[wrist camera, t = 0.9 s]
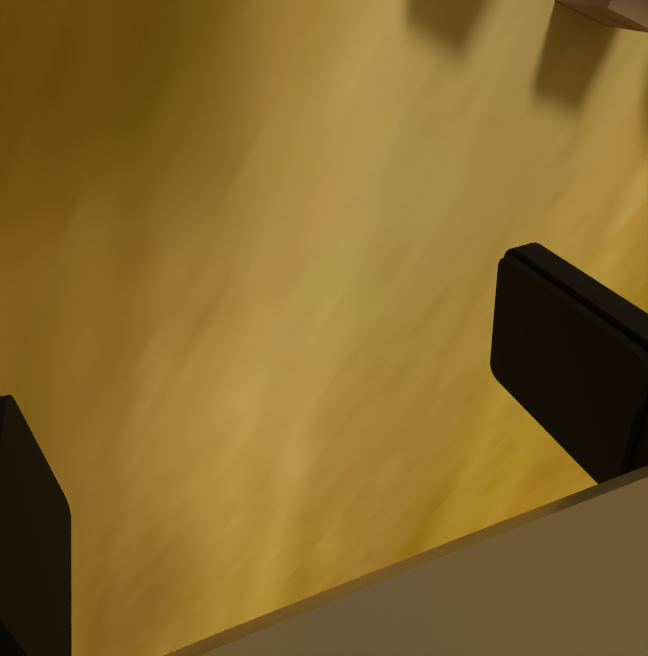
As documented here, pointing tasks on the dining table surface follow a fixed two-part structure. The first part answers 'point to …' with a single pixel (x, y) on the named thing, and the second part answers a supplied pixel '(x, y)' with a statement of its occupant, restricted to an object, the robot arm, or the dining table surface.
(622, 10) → the walnut block
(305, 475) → the dining table surface
